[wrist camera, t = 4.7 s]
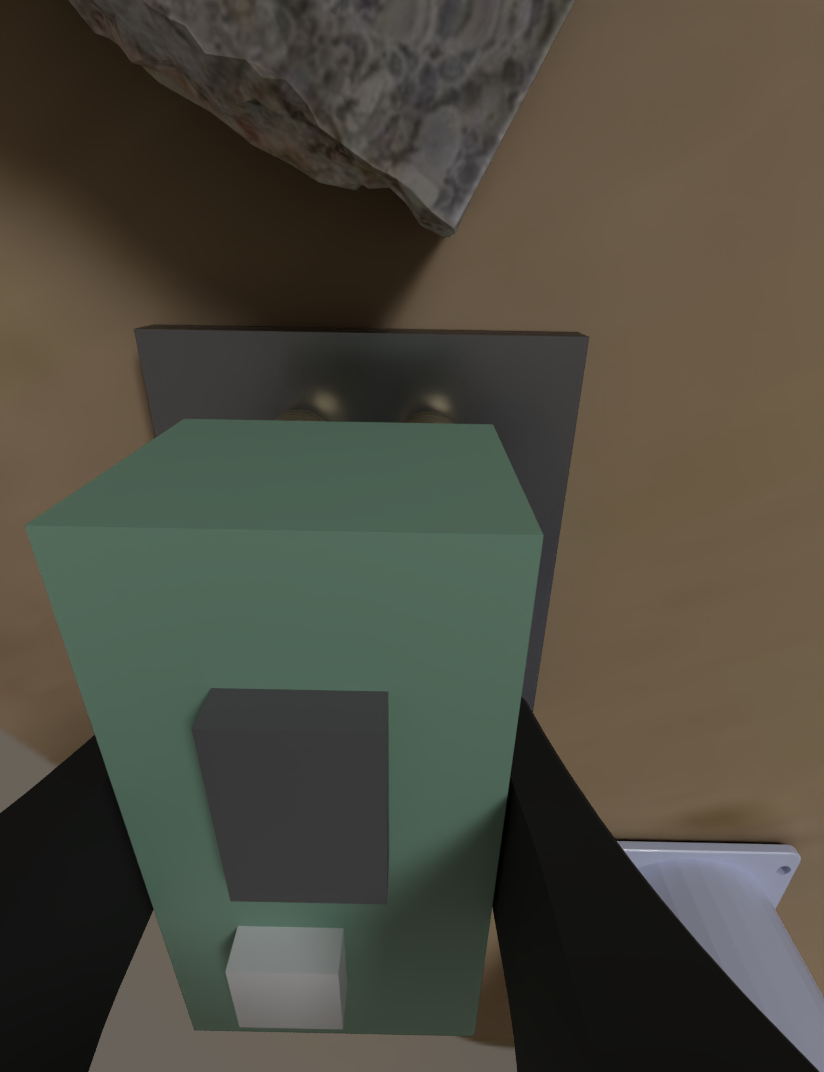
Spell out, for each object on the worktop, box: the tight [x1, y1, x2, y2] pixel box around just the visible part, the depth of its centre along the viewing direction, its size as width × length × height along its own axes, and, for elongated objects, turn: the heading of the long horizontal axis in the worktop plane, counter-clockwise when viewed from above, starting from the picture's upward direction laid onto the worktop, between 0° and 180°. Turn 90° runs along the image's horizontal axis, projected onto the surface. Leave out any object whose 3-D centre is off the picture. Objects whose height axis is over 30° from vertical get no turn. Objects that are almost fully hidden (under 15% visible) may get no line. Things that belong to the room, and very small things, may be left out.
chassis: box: [134, 325, 589, 712], centre depth 14 cm, size 12×10×4 cm
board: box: [25, 419, 544, 1036], centre depth 9 cm, size 10×5×5 cm, turn 179°
